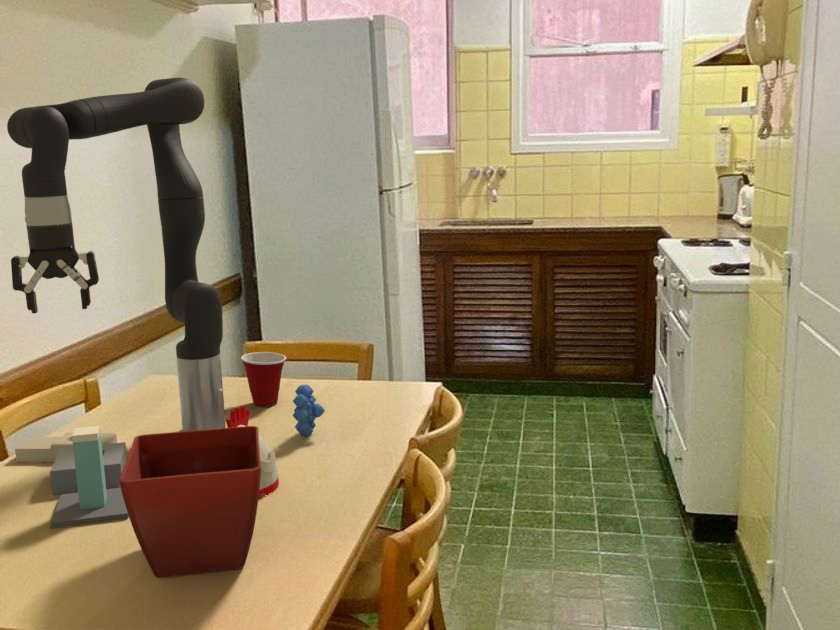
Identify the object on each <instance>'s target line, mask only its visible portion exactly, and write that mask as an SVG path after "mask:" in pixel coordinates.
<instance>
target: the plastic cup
mask: <svg viewBox="0 0 840 630" xmlns="http://www.w3.org/2000/svg"><path fill="white" fill-rule="evenodd" d="M240 359H241V361H242V363H243V366H244V371H245V372H246V373H245V374H246V377H247V384H248V387H249V391H250V395H251V399H252V403H253V405H254V406H255V407H259V408H260V407H262V408H263V407H264V408H265V407H266V408H267V407H270V406H271V407H272V406H275V405H277V404H278V402H279V401H278V400H279V392H280V389H281V388H280V387H281V381H282V379H281V378H282V372H283V371H282V370H283V367H284V365H285V362H286V361H287V356H286V355H284V354H281V353H277V352H270V351H257V352H256V351H255V352H250V353H245V354H243V355H241V358H240Z"/></svg>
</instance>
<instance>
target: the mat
mask: <svg viewBox="0 0 840 630" xmlns="http://www.w3.org/2000/svg"><path fill="white" fill-rule="evenodd" d="M106 492H107V500H106V504H105V507H97V508H89V509H81V510H80V506H79V497H78V492H72V493H63V494H60V497H59V500H58V503H57V505H56V508H55V510H54V513H53V516H52V518H51V520H50V521H51V522H50V529H57V528H58V529H59V528H66V527H72V526H73V527H74V526H82V525H89V524H97V523H104V522H105V523H106V522H113V521H121V520H128V519H129V515H128V512H127V509H126V505H125V502H124V499H123V495H122V491H121V487H114V488H106Z"/></svg>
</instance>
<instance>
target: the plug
mask: <svg viewBox="0 0 840 630" xmlns="http://www.w3.org/2000/svg"><path fill="white" fill-rule="evenodd" d="M72 433H73V435H72V441H73V450H74V460H75V469H76V478H77V487H78V492H77V493H78V497H79V506H80V510H81V509H89V508H97V507H105V504H106V500H107V492H106V489H107V488H106V482H105V472H104V463H103V453H102V443H101V433H102V432H101V426H100V425H96V426H88V427H87V426H86V427H79V428H77V427H75V428H74V430H73V432H72Z"/></svg>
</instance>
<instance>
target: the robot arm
mask: <svg viewBox="0 0 840 630" xmlns="http://www.w3.org/2000/svg"><path fill="white" fill-rule="evenodd" d="M204 109H205V97H204V93H203V90H202V89H201V87H200V86H199V84H198V83H196V82H195V81H193V80H192V79H190V78H186V77H170V78H161V79H154V80H151V81H150V82H149V83H148V84H147V85H146V87H145V88H144V91H139V92H130V93H119V94H108V95H107V94H106V95H98V96H97V95H96V96H91V97H85V98H79V99H74V100H71V101H68V102H63V103H58V104H57V103H56V104H46V105H38V106H29V107H23V108H19V109H18V110H16V111H14V112H13V113H12V114H11V115H10V116H9V117H8V120H7V124H6V127H7V133H8V136H9V137H10V138H11V140H12V142H14V143H15V144H17V145H18V146H20V147H23V148H25V149H26V148H27V149H31V156H30V157H31V159H30V161H29V162H28V163H27V164H25V165H24V166H23V167H22V169H21V180H22V181H21V182H22V188H23V195H24V221H25V223H26V224H25V226H26V233H27V239H28V248H29V254H28V256H19V255H15V256H13V257H12V258H10V265H11V267H10V268H11V280H12V282H11V283H12V289H13V291H19V292H23V293H24V294H25V301H26V308H27V310H28V311H30V312H31V314H37V313H38V311H39V309H38V302H37V295H36V291H34V289H35V287H36V286H37V284H38V283H39V281H40V280H41V279H42V278H43V279H45V280H51V279H54V278H58V279H64V278H67V277H69V278H70V279H71V280H72V281H73V282H75V283H76V284H77V285H78V286H79V287H80V290H79V292H80V300H81V308H82V310H87V309H88V307H89V306H91V302H92V300H91V291H90V288H91V287H93V286H96V285H97V284H98V282H99V281H100V279H99V277H100V276H99V271H98V266H97V261H96V254H95V252H94V251H93V250H89V251H88V252H81V253H78V252H77V250H76V245H75V237H74V236H75V235H74V228H73V226H74V225H73V219H72V211H71V205H70V201H69V196H68V189H67V181H66V179H67V178H66V173H65V170H66V165H67V160H68V159H67V158H68V152H69V151H68V150H69V143H70V140H71V141H72V140H85V139H91V138H95V137H100V136H104V135H105V136H106V135H109V134H114V133H116V132H121V131H124V130H129V129H133V128H137V127H141V126H142V127H143V126H147V127H146V128H147V131H148V135H149V141H150V145H151V151H152V157H153V166H154V173H155V178H156V179H155V181H156V189H157V190H156V191H157V202H158V203H157V204H158V210H159V211H158V213H159V219H160V220H159V221H160V226H161V237H162V246H163V247H162V248H163V257H164V302H165V307H166V310H167V313H168V314H169V316H170V317H171V318H172V319H173V320H175V321H176V322H180V323H183V324H184V338H183V339H182V340H180V341H178V342H177V344H176V346H175V351H176V352H175V353H176V355H175V356H176V366H177V377H178V391H179V403H180V404H179V405H180V415H181V427H182V428H181V429H182V431H195V430H207V429H219V428H227V424H226V413H225V399H224V388H223V377H222V376H223V375H222V360H221V346H222V345H221V344H222V342H223V337H224V336H223V335H224V328H223V324H224V323H223V302H222V298H221V295H220V292H219V291H218V289H217V287H215V286H213V285H212V284H210V283H205V282H199V277H198V270H197V260H196V259H197V250H198V247H199V243H200V240H201V238H202V234H203V231H204V228H205V222H206V211H205V200H204V193H203V187H202V184H201V181H200V180H199V178H198V176H197V174H196V172H195V170H194V168H193V167H192V165H191V164H190V162H189V160H188V157H187V156H186V154H185V151H184V148H183V145H182V139H181V132H180V130H181V129H180V125H186V124H190V123H193V122H195V121H197V120H198V118H199V117H201V115H202V114H203V111H204ZM80 260H81V261H82V263H83V264H84V265H86V266H87V268H88V273H89V274H88V275H89V278H88V279H86V278H85V277H84V275H82V273H81V272H80V271H79V270H78V269H77V268H76V267H75V266H76V265H77V263H78V262H79V261H80ZM27 263H28V264H29V266H31V268H33V270H35V272H34V273H33V275H32V276H31V278H30V279H29V281H28V282H27V283H24V282H23V274H22V273H23V272H22V269H24V268H26V264H27Z"/></svg>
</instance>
